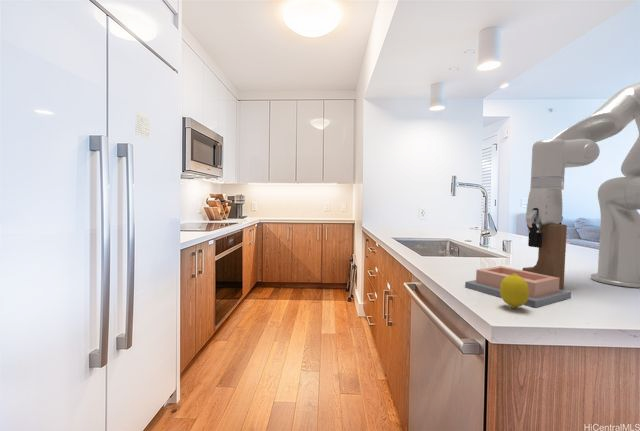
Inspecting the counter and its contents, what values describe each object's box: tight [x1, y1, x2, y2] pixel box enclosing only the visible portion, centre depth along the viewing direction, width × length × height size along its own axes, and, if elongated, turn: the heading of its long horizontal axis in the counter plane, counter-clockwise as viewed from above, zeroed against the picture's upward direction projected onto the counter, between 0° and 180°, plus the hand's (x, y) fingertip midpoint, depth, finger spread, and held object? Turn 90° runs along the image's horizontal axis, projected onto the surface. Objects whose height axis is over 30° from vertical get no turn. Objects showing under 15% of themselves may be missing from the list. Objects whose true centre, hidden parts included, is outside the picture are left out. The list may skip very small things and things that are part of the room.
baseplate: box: [464, 265, 572, 308], centre depth 80 cm, size 16×18×5 cm
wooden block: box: [522, 224, 568, 290], centre depth 86 cm, size 9×4×18 cm, turn 17°
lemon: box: [500, 274, 529, 309], centre depth 68 cm, size 6×6×8 cm
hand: (543, 245), depth 86 cm, fingers open, 8 cm apart
